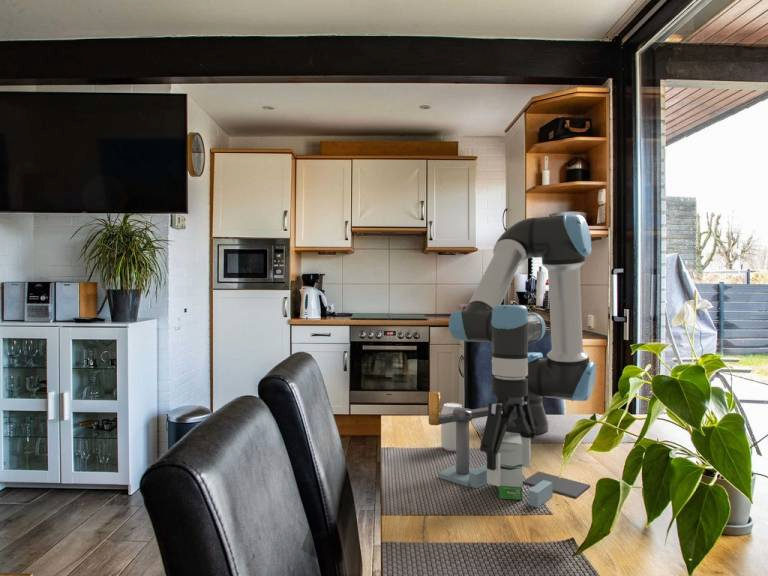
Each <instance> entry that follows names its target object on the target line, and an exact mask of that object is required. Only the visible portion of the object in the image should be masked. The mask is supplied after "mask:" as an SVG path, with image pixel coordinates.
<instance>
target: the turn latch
mask: <svg viewBox="0 0 768 576" xmlns="http://www.w3.org/2000/svg"><path fill="white" fill-rule="evenodd" d="M487 416H488V406H486V407H479V408H475V409H471V408H466V407H462V408H455V409H453V413H450V414H444V415H441V391H435V390H434V391H433V390H432V391H428V425H429V426H441V424H445V423H450V422H456V421H469V422H470V421H472V420H474V419H481V418H487Z"/></svg>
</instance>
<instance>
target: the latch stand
mask: <svg viewBox="0 0 768 576" xmlns="http://www.w3.org/2000/svg"><path fill="white" fill-rule="evenodd" d="M455 461H456V463H455V464H454V465H453V466H451V467H448V468H447V469H444V470H442V471H440V472H438V476H437V477H438V478H439V479H442V480H445V481H448V482H452V483H454V484H457V485H460V486H465V487H468V488H469V487H471V488H474V489H479V488H481V487H482V486H484V485H486V484H488V483H487V463H486V464H483V465H481V466H480V467H477V468H474V467H470V421H456V451H455ZM553 496H554V492H553V482H549V481H545V480H543V481H541V482H540V483H538V484H537V485H535V486H531V488H529V489H528V499H527V500H528V506H531V507H534V508H540V507H541V506H542V505H544V504H545V503H546V502H547V501H549V500H550V499H551V498H553Z"/></svg>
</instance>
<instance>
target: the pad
mask: <svg viewBox="0 0 768 576" xmlns="http://www.w3.org/2000/svg"><path fill="white" fill-rule="evenodd" d="M559 477H561V478H559ZM543 480H545V481H549V482H553V493H557V494H560V495H563V496H566V497H570V498H574V499H578V497H579V496H581V495H582V494H584V492H586V491H588V489H590V488H591V485H590V484H589V483H588V484H587V483H584V482H579V481H577V480H573V479H569V478H565V477H563V476H558V475H554V474H550V473H546V472H543V471H536V472H535V473H533V474H532V475H530V476H529V477H527V478H526V479H524V480H522V484H525V485H527V486H531V487H534V486H535V485H537V484H538V483H540V482H541V481H543Z"/></svg>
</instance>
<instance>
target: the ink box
mask: <svg viewBox="0 0 768 576" xmlns="http://www.w3.org/2000/svg"><path fill="white" fill-rule="evenodd" d="M521 437H522V436H521V435H520V433H512V432H507V431H505V434H504V437H503V439H502V442H501V445H500V448H499V451H498V453H500V486H499V487H498V486H497V488H498V489H497V490H498V497H499V499H502V500H505V499H506V500H519V501H520V500H521V501H522V500H523V467H522V441H521Z"/></svg>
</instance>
